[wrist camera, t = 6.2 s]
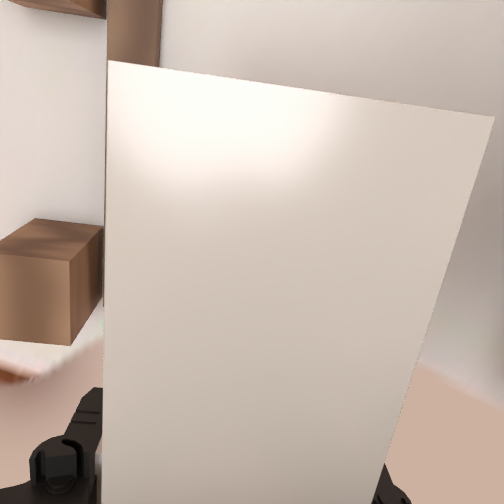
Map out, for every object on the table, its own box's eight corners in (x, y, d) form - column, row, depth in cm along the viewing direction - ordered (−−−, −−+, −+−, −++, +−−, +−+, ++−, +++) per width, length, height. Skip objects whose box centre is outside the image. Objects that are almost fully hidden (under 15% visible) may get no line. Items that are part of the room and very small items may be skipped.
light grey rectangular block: (332, 98, 15) (495, 117, 6) (254, 508, 22) (269, 819, 13) (189, 77, 15) (108, 60, 5) (156, 502, 22) (96, 819, 12)
